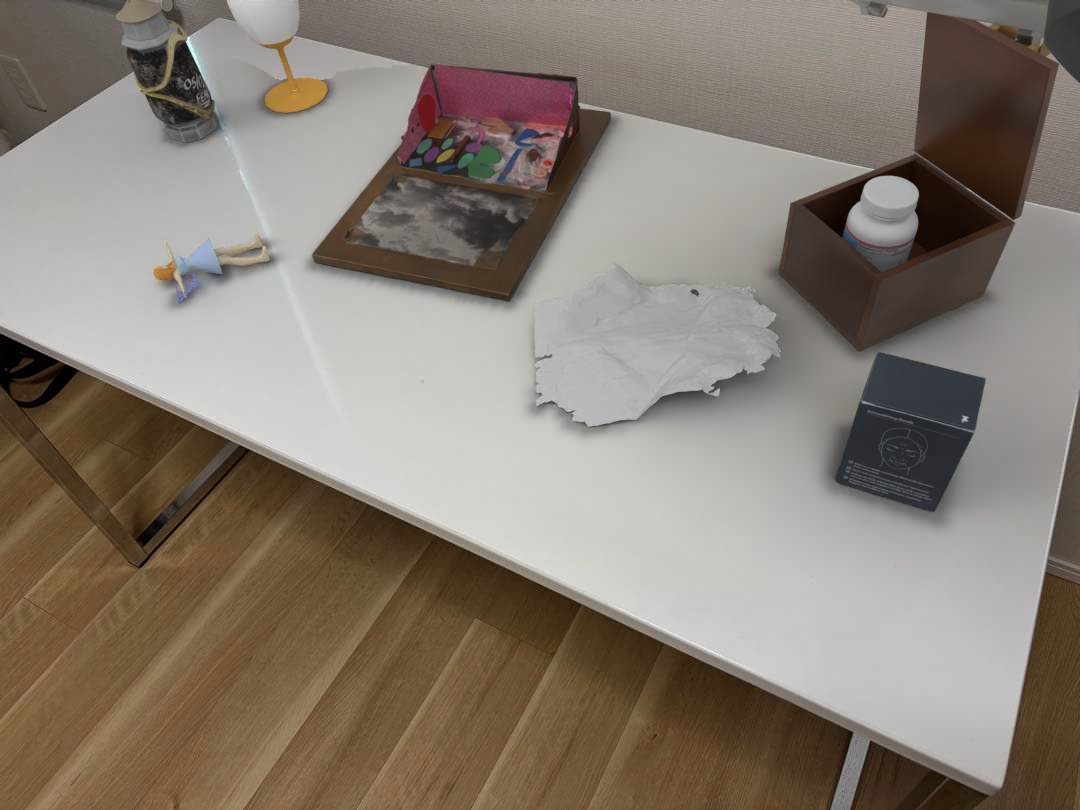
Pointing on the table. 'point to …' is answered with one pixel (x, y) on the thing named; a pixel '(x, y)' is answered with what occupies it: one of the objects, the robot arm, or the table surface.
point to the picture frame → (470, 181)
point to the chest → (907, 289)
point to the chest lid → (983, 107)
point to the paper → (644, 344)
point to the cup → (278, 49)
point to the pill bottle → (884, 221)
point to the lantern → (167, 71)
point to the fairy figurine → (207, 262)
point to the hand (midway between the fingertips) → (952, 17)
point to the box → (910, 430)
